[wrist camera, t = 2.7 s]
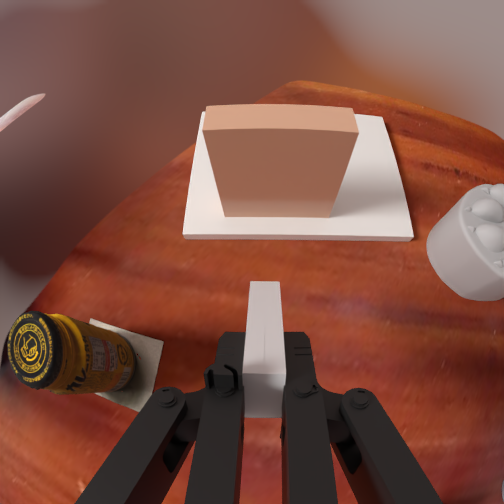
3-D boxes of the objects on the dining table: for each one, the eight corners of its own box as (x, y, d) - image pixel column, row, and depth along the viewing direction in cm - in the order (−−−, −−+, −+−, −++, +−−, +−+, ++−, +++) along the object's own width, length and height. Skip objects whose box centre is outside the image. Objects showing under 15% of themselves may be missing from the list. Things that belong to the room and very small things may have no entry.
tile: (326, 194, 30) (351, 106, 18) (328, 218, 29) (359, 132, 18) (226, 193, 30) (207, 103, 19) (224, 217, 29) (202, 130, 18)
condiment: (91, 318, 27) (12, 286, 16) (164, 341, 26) (98, 321, 15) (76, 384, 25) (-8, 380, 14) (148, 414, 24) (76, 436, 13)
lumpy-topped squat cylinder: (510, 303, 25) (558, 282, 17) (427, 295, 27) (476, 267, 19) (500, 225, 29) (539, 192, 21) (422, 205, 30) (457, 161, 22)
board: (379, 123, 35) (382, 117, 34) (409, 241, 29) (413, 236, 28) (203, 118, 36) (202, 111, 35) (185, 239, 30) (182, 234, 29)
